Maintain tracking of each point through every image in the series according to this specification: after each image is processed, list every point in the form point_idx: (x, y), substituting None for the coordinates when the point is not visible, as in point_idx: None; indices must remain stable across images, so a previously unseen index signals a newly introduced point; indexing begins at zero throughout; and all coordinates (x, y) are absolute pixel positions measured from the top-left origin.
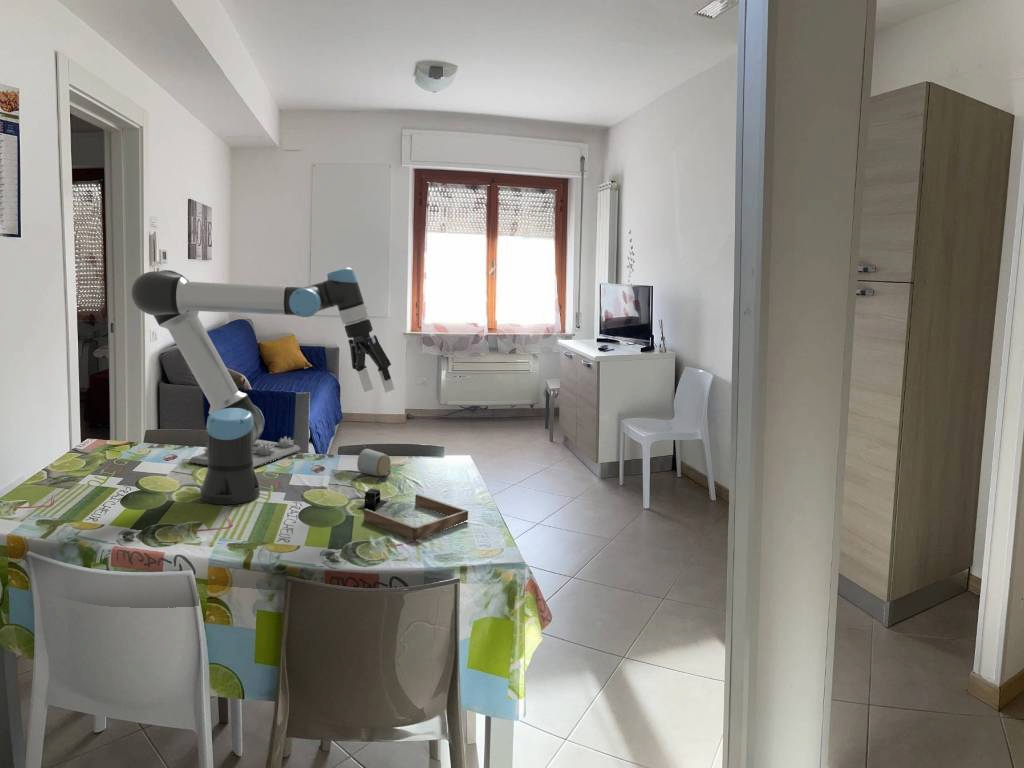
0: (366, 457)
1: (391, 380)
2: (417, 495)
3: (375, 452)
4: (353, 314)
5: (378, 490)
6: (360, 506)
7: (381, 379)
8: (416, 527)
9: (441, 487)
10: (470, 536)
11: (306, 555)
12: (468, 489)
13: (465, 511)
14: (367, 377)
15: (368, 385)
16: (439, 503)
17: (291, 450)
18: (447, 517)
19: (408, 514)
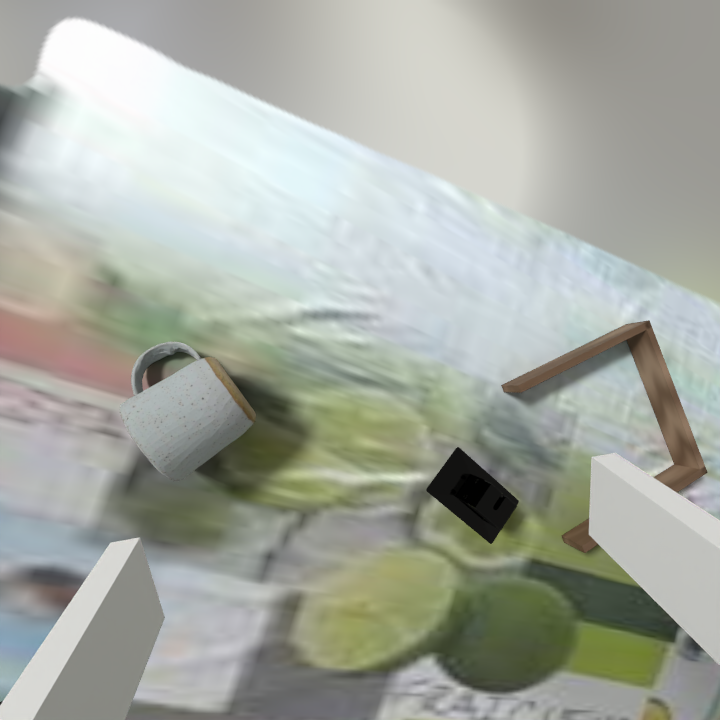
0: (203, 454)
1: (698, 510)
2: (526, 389)
3: (196, 417)
4: None
5: (496, 490)
6: (478, 529)
7: (715, 652)
8: (702, 467)
9: (394, 266)
10: (688, 355)
11: (691, 687)
12: (431, 206)
13: (650, 327)
14: (64, 713)
15: (128, 621)
16: (586, 358)
17: None
18: (671, 382)
19: (555, 430)
